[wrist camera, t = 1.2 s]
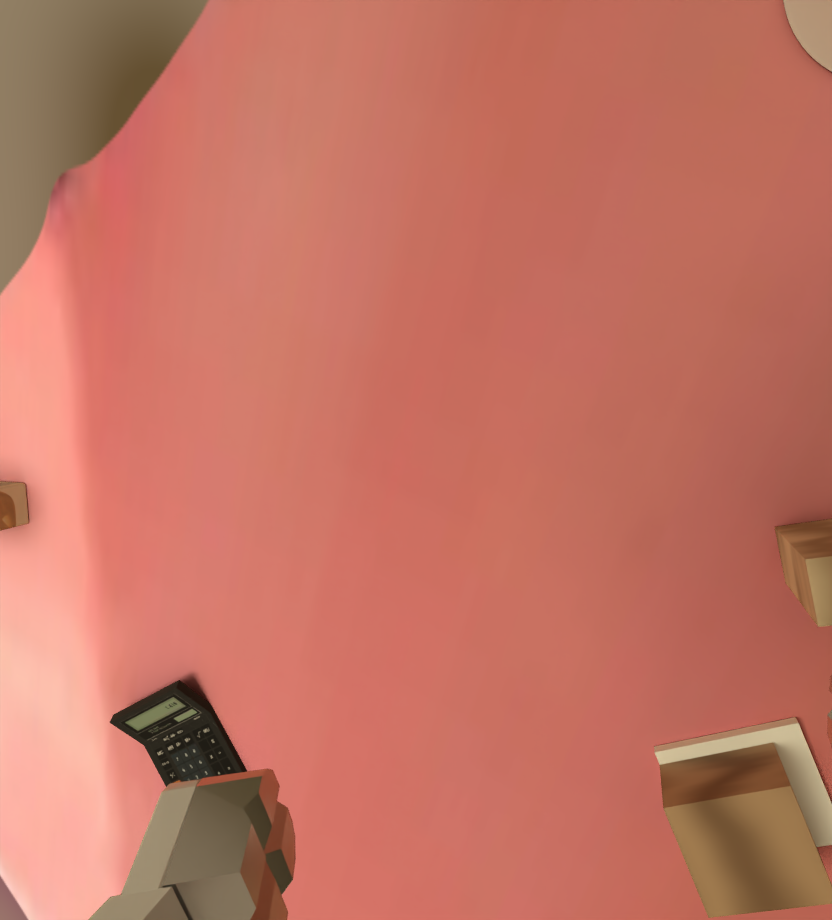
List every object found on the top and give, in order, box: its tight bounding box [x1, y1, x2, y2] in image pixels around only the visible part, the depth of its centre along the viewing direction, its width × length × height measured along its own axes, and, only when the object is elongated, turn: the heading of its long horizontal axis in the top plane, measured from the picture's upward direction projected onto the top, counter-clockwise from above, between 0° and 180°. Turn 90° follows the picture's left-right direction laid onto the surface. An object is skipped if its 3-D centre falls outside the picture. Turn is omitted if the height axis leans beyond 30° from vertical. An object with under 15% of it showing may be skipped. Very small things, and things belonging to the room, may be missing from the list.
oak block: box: [775, 519, 832, 627], centre depth 40 cm, size 4×4×8 cm
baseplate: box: [654, 717, 832, 847], centre depth 46 cm, size 10×9×1 cm
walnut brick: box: [660, 742, 832, 918], centre depth 44 cm, size 8×8×5 cm
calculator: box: [110, 680, 247, 787], centre depth 61 cm, size 9×12×3 cm
